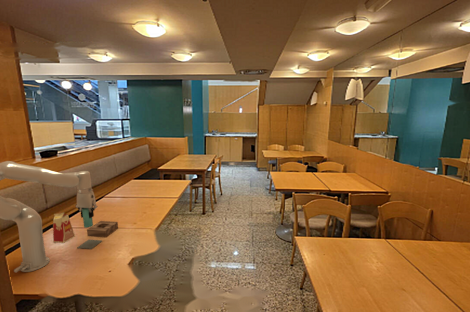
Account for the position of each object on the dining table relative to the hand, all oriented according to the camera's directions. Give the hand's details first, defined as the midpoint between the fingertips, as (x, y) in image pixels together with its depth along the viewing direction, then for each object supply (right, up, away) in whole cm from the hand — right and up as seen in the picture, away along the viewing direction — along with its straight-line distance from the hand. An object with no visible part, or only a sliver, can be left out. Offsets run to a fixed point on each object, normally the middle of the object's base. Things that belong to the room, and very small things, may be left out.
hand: (87, 216), depth 144 cm
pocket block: (-2, -17, +20) cm, 26 cm away
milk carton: (-23, -18, +9) cm, 31 cm away
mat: (0, -19, +3) cm, 20 cm away
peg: (0, -6, +1) cm, 6 cm away
